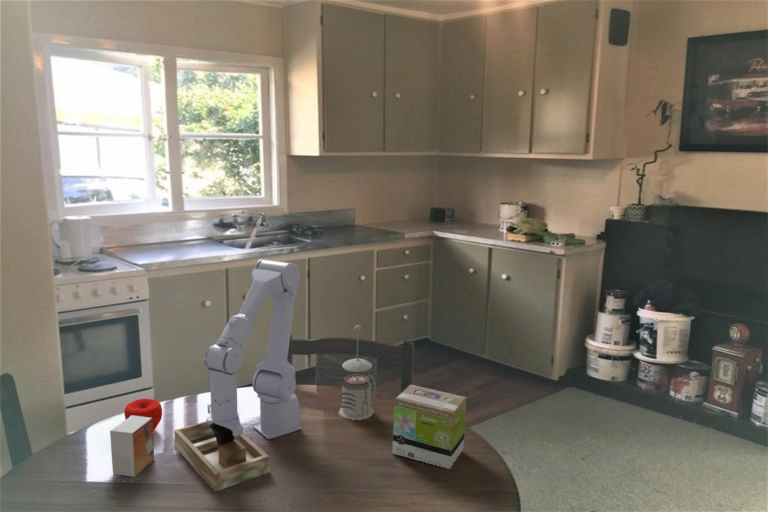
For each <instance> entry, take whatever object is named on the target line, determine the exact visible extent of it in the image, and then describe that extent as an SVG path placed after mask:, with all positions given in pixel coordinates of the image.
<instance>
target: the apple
mask: <svg viewBox="0 0 768 512" xmlns="http://www.w3.org/2000/svg"><path fill="white" fill-rule="evenodd" d="M123 412H124V419H125V420H126V419H128V418H129V417H130V416H131V415H133V416H141V417H149V418H152V419H153V432H155V430H156V428H157V427H158V426H159V424H160V423H161V420H162V416H163V407H162V403H161V402H159V400H157V399H152V398H140V399H136V400H133V401H131V402H128V404H126V406H125V408H124V411H123ZM125 420H124V421H125Z"/></svg>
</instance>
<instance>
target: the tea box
mask: <svg viewBox="0 0 768 512" xmlns="http://www.w3.org/2000/svg"><path fill="white" fill-rule="evenodd" d="M467 400H468V398H467V396H464V395H458V394H454V393H450V392H445V391H441V390H436V389H434V388H433V389H432V388H428V387H424V386H419V385H415V384H409V385H407V387H406V388H405V389H404V390H403V391H402V392H401V393H400V394H398V396H397V397H396V398H394V403H393V404H394V406H393V407H394V408H393V424H392V425H393V427H392V428H393V429H392V455H397V456H400V457H405V458H408V459H411V460H414V461H419V462H421V461H422V463H424V462H425V464H428V463H429V464H428V465H431V464H433V465H432V466H435V465H437V466H436V467H438V466H441V467H447V468H451V469H452V467H453V466H454V464H455V463H456V462H455V461H457V460H458V459H457V457H458V456H459V455H460V456H461V454H462V453H463V451H464V443H465V430H466V426H465V425H466V417H467V416H466V414H467ZM462 450H463V451H462ZM461 452H462V453H461ZM460 453H461V454H460ZM460 456H459V457H460ZM459 457H458V458H459ZM456 459H457V460H456ZM454 462H455V463H454ZM453 463H454V464H453ZM452 465H453V466H452ZM451 466H452V467H451ZM441 467H440V468H441Z"/></svg>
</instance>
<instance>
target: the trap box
mask: <svg viewBox="0 0 768 512" xmlns="http://www.w3.org/2000/svg"><path fill="white" fill-rule="evenodd" d="M173 431H174V438H173V447H174V448H175V449H176V450H177V451H178V450H179V451H178V452H179V453H180V454H181V455H182V457H184V459H185V460H186V461H187V462H188V464H190V466H191V467H192V468H193V469H194V470H195V471H196V472H197V474H199V475H200V477H201V478H202V479H203V480H204V482H206V484H207V485H208V486H209V487H210V488H211V489H212V490H213V491H214V492H215V493H216V492H218V491H222V490H223V489H224V490H225V489H227V488H230V487H233V486H235V485H238V484H241V483H243V482H246V481H249V480H252V479H256V478H258V477H260V476H262V475H266V474H269V473H271V464H270V455H268V454H267V453H266V452H265V451H264V450H263V449H261V448H260V447H259V446H258V445H257V444H255V443H254V442H253V441H252V440H251V439H250V438H249V437H248V436H246V435H245V434H244V433H243V434H242V435H239V436H235V438H234V441H235V440H238V441H239V442H240V443H241V444H242V445H243V446H244V447H245V448H246V461H245V462H242V463H239V464H237V465H234V466H231V467H228V468H224V467H223V466H222V465H221V464H220V463H219V452H218V444H217V440H216V437H215V434H214V432H213V430H212V429H211V427H210V424H209V423H208V422H207V421H206V420H205V421H201V422H198V423H195V424H192V425H188V426H184V427H181V428H177V429H174V430H173Z"/></svg>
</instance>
